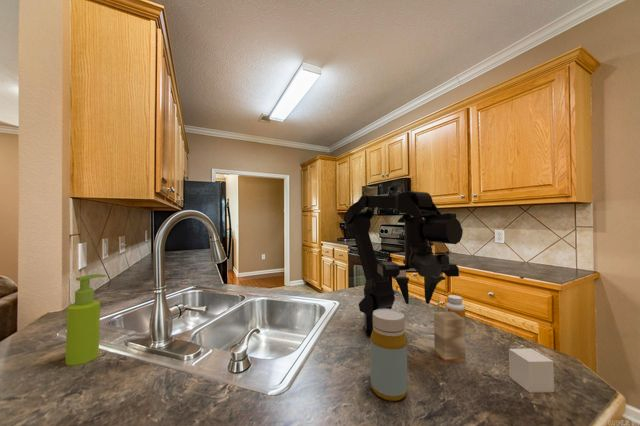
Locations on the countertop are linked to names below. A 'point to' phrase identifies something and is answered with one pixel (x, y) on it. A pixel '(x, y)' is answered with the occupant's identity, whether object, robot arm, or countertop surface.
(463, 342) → the birch block
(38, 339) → the countertop surface
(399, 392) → the bottle
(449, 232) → the robot arm
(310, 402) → the countertop surface
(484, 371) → the countertop surface
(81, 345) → the soap dispenser
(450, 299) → the supplement bottle
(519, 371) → the grey block
